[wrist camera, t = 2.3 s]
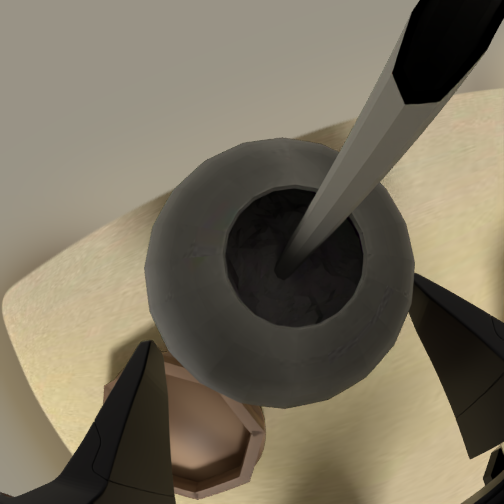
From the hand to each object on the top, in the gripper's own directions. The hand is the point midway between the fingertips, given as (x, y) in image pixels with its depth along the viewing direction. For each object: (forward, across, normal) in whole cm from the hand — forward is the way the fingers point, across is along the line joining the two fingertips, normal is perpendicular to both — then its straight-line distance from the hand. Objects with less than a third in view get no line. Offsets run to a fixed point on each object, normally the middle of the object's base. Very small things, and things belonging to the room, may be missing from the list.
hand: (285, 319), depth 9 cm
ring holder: (+2, +9, +13) cm, 16 cm away
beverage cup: (+8, 0, +7) cm, 11 cm away
